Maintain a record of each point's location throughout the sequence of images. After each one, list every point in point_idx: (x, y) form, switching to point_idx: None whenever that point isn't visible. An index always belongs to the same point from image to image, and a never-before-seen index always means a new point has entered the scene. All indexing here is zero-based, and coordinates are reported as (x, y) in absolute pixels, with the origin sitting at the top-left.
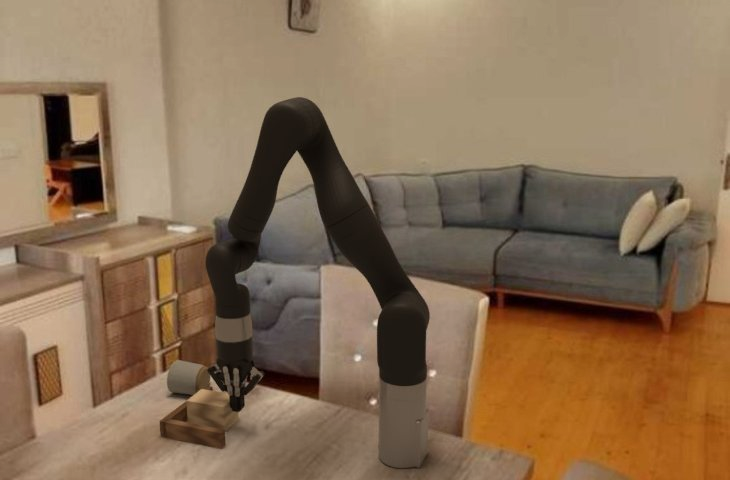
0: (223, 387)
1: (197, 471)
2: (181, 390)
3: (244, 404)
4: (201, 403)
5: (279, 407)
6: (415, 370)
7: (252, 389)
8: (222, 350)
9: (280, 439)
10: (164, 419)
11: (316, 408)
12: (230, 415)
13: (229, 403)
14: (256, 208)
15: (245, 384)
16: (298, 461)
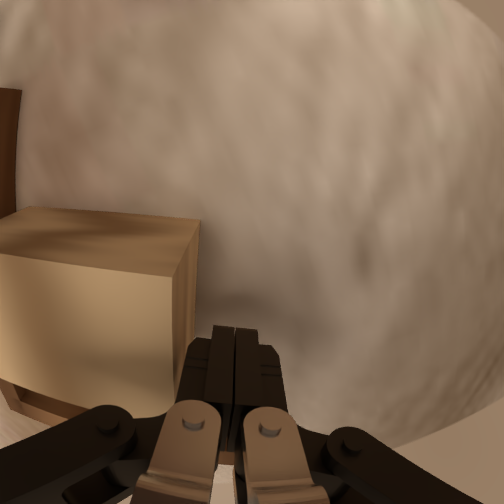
0: (129, 488)
1: (226, 479)
2: None
3: (278, 360)
4: (49, 395)
5: (366, 62)
6: None
7: (372, 443)
8: None
9: (420, 331)
10: (12, 403)
11: (497, 78)
12: (187, 318)
13: (175, 372)
14: None
15: (309, 474)
16: (455, 398)
